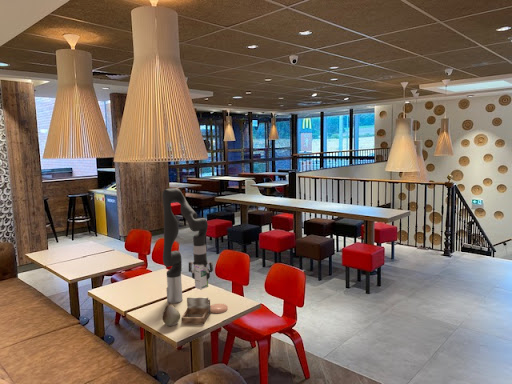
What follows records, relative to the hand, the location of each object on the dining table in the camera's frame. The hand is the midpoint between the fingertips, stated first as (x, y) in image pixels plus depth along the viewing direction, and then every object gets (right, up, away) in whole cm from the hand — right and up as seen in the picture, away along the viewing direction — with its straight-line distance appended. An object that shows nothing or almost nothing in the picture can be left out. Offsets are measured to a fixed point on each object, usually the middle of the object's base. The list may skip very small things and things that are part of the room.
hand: (201, 278), depth 226 cm
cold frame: (-3, -23, -1) cm, 24 cm away
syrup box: (0, -6, +1) cm, 6 cm away
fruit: (-16, -25, -7) cm, 30 cm away
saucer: (+9, -21, +11) cm, 26 cm away
